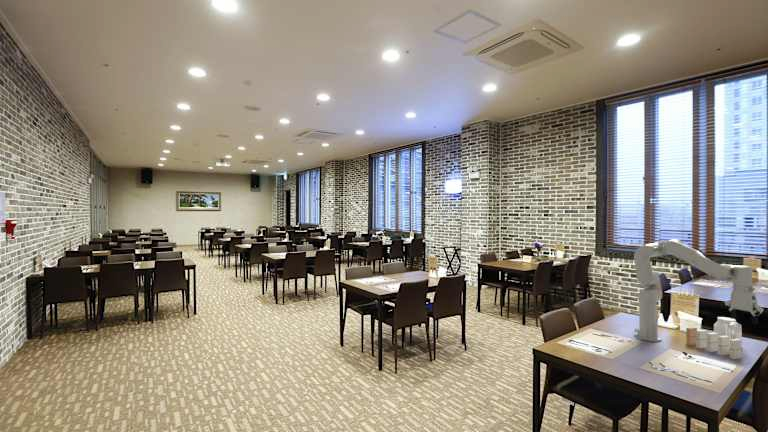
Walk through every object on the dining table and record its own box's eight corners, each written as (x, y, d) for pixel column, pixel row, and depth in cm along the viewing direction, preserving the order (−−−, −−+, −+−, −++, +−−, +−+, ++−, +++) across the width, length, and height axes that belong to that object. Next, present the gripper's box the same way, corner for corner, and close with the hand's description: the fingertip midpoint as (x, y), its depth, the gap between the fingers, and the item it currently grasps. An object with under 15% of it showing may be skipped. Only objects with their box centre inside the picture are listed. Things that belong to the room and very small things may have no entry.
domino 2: (696, 347, 214) (696, 330, 214) (703, 346, 216) (703, 329, 216) (699, 348, 212) (699, 331, 212) (707, 347, 214) (707, 330, 214)
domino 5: (729, 357, 198) (729, 339, 198) (737, 356, 200) (737, 338, 200) (733, 359, 196) (733, 340, 196) (741, 357, 198) (741, 339, 198)
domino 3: (706, 350, 209) (706, 333, 209) (714, 349, 211) (714, 332, 211) (710, 351, 207) (710, 334, 207) (718, 350, 209) (717, 333, 209)
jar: (712, 342, 222) (712, 318, 222) (715, 339, 228) (715, 315, 228) (738, 347, 213) (738, 322, 213) (740, 344, 219) (740, 319, 219)
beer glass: (745, 352, 207) (745, 325, 207) (730, 351, 208) (730, 325, 208) (735, 347, 214) (735, 322, 214) (722, 346, 215) (722, 321, 215)
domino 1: (686, 344, 219) (686, 327, 219) (693, 343, 221) (693, 326, 221) (689, 345, 218) (689, 328, 218) (696, 344, 219) (696, 327, 219)
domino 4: (718, 354, 204) (718, 336, 204) (725, 353, 205) (725, 335, 205) (721, 355, 202) (721, 337, 202) (729, 354, 203) (729, 336, 203)
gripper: (768, 291, 187) (769, 324, 187) (730, 285, 204) (731, 316, 204) (756, 292, 186) (757, 325, 186) (719, 286, 203) (720, 317, 203)
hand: (743, 320), depth 195 cm, fingers open, 9 cm apart
